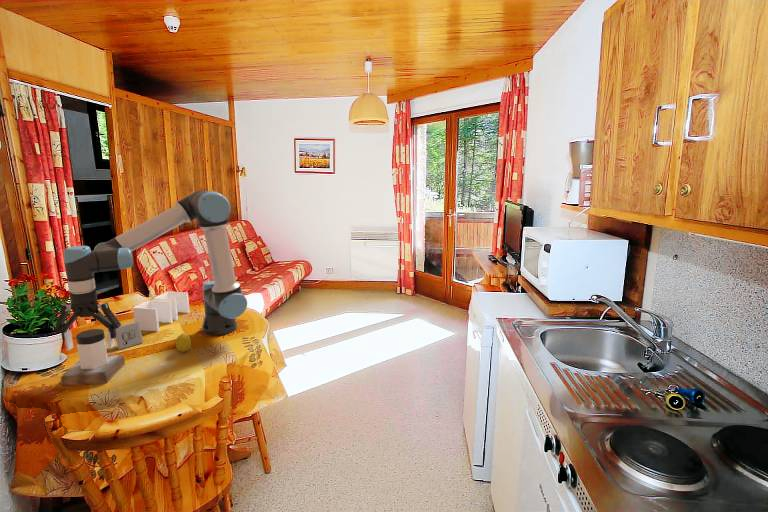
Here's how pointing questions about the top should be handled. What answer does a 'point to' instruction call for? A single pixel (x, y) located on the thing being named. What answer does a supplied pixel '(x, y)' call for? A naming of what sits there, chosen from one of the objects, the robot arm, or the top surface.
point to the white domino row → (161, 310)
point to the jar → (92, 349)
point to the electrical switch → (128, 335)
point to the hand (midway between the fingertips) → (91, 347)
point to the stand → (93, 372)
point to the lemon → (183, 342)
